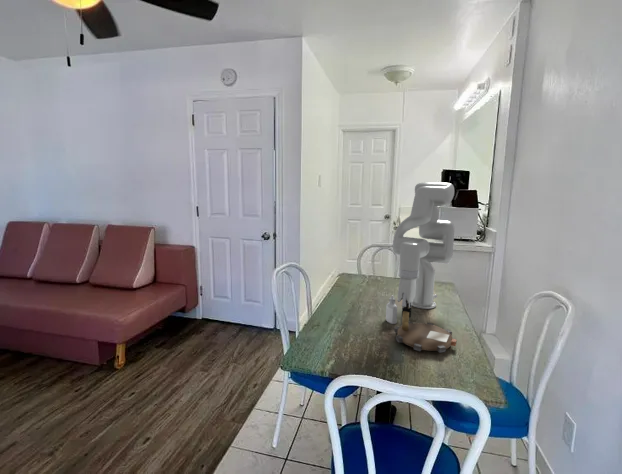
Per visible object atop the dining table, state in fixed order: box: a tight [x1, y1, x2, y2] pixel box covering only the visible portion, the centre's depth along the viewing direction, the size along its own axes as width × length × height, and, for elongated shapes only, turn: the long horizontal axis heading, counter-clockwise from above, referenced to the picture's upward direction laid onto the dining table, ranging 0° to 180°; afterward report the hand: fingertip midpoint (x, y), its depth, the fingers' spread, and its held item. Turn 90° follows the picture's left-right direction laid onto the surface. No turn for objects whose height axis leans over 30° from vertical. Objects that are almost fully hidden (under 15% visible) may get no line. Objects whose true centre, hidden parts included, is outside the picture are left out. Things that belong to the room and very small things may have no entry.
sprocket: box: [393, 311, 458, 353], centre depth 134 cm, size 23×23×9 cm
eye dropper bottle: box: [385, 294, 398, 325], centre depth 153 cm, size 4×6×12 cm
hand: (406, 316), depth 141 cm, fingers closed
